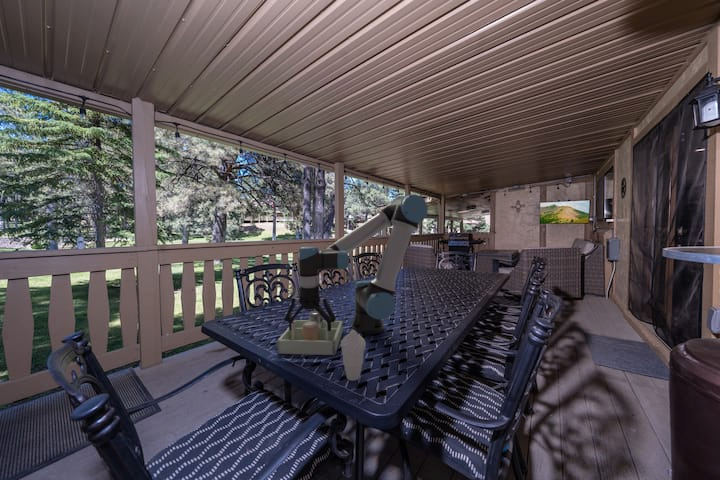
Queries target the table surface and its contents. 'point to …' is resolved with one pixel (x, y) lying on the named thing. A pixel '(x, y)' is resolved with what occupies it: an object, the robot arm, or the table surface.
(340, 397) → the table surface
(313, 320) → the tin
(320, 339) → the tray
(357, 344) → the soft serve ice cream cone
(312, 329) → the jar
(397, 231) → the robot arm
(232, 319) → the table surface
